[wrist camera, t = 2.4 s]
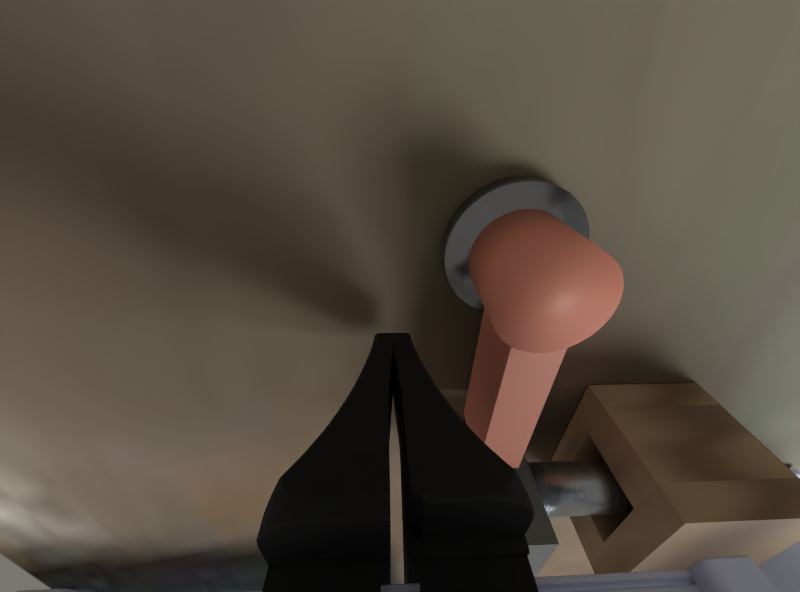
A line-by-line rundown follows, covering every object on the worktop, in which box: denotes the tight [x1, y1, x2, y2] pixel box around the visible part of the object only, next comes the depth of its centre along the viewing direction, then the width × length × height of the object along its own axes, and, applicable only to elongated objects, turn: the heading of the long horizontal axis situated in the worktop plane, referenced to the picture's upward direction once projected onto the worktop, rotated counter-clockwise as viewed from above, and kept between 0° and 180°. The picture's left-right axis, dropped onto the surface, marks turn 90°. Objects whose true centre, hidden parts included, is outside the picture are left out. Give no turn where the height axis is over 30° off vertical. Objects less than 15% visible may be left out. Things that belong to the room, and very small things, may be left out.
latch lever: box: [464, 208, 624, 468], centre depth 12 cm, size 4×10×3 cm, turn 179°
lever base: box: [442, 176, 589, 311], centre depth 12 cm, size 5×5×1 cm
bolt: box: [513, 455, 634, 577], centre depth 16 cm, size 11×4×6 cm, turn 89°
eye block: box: [550, 383, 800, 574], centre depth 16 cm, size 6×8×6 cm
